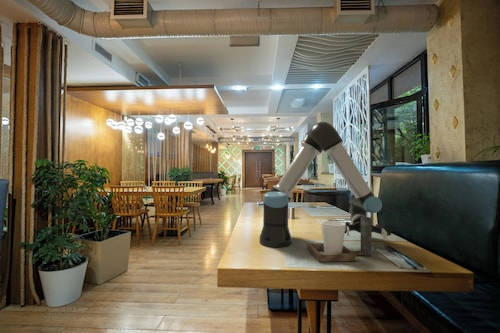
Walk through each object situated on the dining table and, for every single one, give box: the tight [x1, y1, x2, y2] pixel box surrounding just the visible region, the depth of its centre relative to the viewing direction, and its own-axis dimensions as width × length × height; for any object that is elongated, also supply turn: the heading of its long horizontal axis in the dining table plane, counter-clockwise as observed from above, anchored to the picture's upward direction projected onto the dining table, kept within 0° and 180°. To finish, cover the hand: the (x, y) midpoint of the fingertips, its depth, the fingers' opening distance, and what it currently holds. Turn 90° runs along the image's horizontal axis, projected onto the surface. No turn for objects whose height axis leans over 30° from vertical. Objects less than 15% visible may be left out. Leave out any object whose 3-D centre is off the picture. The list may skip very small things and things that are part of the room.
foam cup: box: [320, 220, 346, 254], centre depth 99 cm, size 10×9×13 cm
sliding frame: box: [306, 216, 373, 263], centre depth 99 cm, size 24×14×15 cm, turn 94°
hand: (366, 234), depth 97 cm, fingers open, 13 cm apart
